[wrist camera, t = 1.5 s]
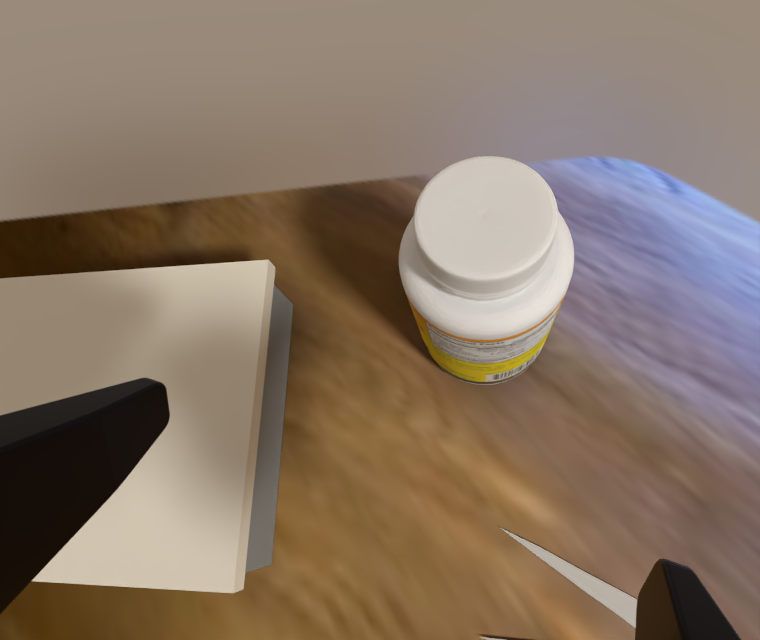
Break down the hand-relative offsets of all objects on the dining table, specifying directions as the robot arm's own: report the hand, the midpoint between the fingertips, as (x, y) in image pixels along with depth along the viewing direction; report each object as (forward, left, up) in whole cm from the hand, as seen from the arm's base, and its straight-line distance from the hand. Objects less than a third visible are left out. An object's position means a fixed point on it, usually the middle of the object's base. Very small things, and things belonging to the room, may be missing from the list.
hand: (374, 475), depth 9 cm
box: (-9, +13, -13) cm, 21 cm away
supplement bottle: (+7, +3, -14) cm, 16 cm away
